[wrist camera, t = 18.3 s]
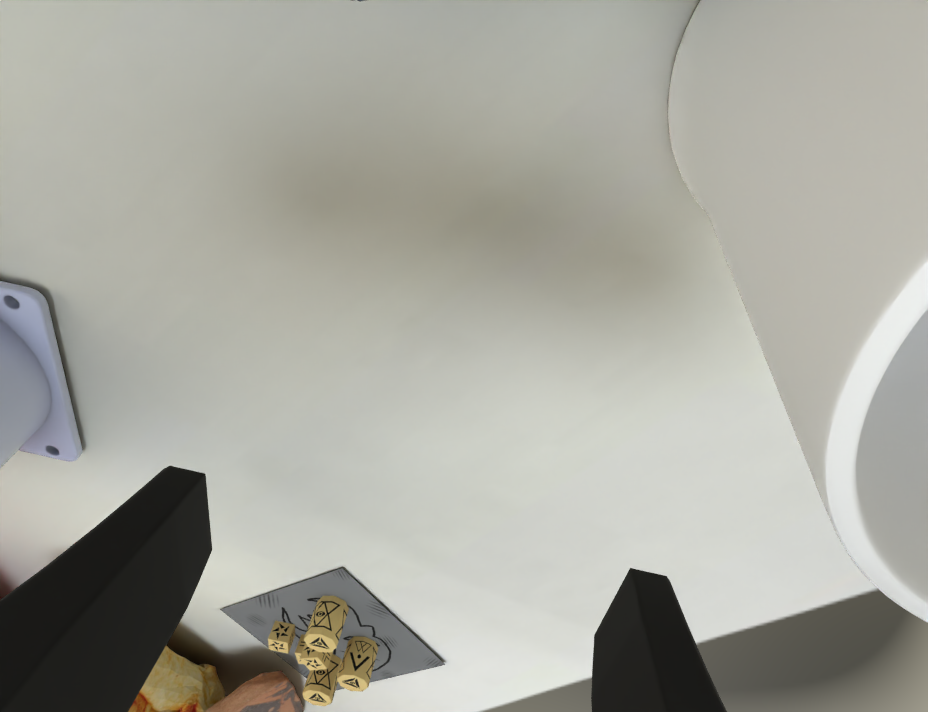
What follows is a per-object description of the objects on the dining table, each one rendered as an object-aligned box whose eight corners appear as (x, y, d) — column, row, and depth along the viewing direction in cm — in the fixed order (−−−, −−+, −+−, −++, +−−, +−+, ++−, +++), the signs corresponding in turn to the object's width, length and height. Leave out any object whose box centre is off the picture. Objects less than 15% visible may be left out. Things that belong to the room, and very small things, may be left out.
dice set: (334, 591, 30) (321, 630, 29) (401, 652, 32) (392, 691, 31) (257, 616, 32) (241, 653, 31) (325, 671, 35) (313, 708, 33)
